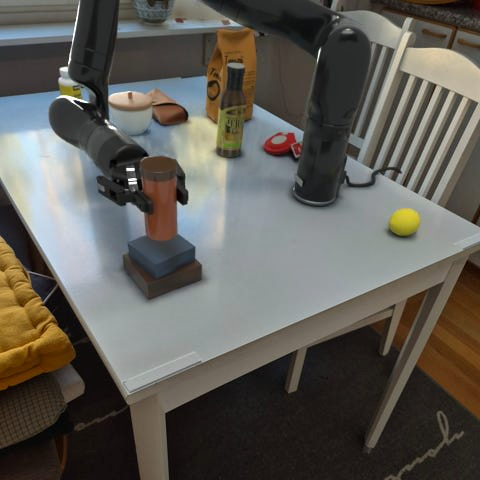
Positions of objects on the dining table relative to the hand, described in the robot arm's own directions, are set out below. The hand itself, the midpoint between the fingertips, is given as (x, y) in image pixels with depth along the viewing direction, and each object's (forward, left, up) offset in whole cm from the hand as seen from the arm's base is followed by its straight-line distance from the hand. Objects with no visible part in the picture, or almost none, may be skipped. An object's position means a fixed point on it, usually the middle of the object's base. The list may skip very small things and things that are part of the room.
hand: (168, 204), depth 68 cm
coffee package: (-50, -56, -15) cm, 76 cm away
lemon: (-48, +9, -15) cm, 51 cm away
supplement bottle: (-14, -79, -15) cm, 81 cm away
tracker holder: (-50, -31, -15) cm, 60 cm away
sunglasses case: (-34, -67, -15) cm, 76 cm away
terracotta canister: (0, -3, -6) cm, 7 cm away
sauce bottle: (-37, -37, -15) cm, 54 cm away
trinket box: (-22, -59, -15) cm, 64 cm away
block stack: (0, -3, -15) cm, 15 cm away
